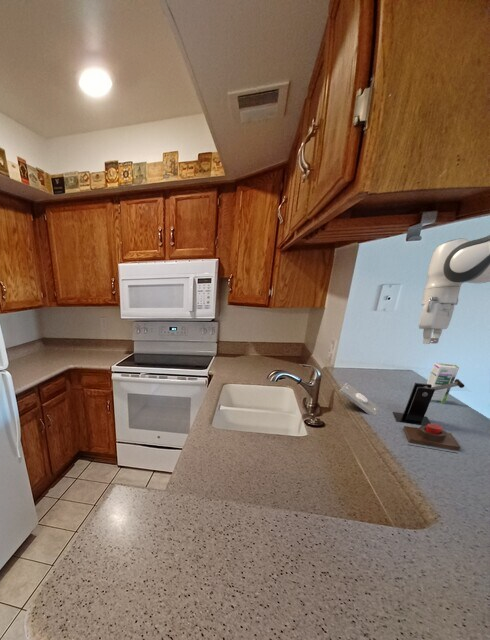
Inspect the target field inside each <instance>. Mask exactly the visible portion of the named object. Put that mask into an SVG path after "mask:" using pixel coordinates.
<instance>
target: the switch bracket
mask: <svg viewBox="0 0 490 640" xmlns="http://www.w3.org/2000/svg"><path fill="white" fill-rule="evenodd" d="M423 386H427V387H428V388H425V387H423ZM431 387H432V385H431V384H427V383H423V382H422V383H421V382H414V385H413V387H412V389H411V393H410V395H409V397H408V400H407V403H406V405H405V408H404V411H403V412H396V411H392V415H393V417H394V420H395V422H396V423H403V424H410V425H415V426H416V425H417V426H426V425H428V424H432V423H431V421H430V420H429V418H428V416H426V413H427V412H428V411H427V410H428V408H429V405H430V403H431V402H430V401H431V399H432V396H433V394H434V391H435V389H434V388H431ZM416 388H417V390H416Z"/></svg>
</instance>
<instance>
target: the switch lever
mask: <svg viewBox="0 0 490 640" xmlns="http://www.w3.org/2000/svg"><path fill="white" fill-rule="evenodd" d="M423 387H425V388H428V387H427V386H423ZM450 387H451V388H454V387H455V388H456V387H459V388H460V389H463V388H464V387H465V384H464V383H463V382H462V381H461V380H460V379H458V378H455V379H454V382H453V383H449V384H445V385H440V386H436V387H431V388H434V389H435V391H436V390H441V389H446V388H450ZM416 390H417V388H416Z"/></svg>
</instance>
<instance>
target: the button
mask: <svg viewBox="0 0 490 640" xmlns="http://www.w3.org/2000/svg"><path fill="white" fill-rule="evenodd" d="M425 430H426V431H428V432H430V433H434V434H440V433H441V431H442V430H443V427H442V426H441V425H440V424H436V423H431V424H428V425H427V427H426V429H425Z"/></svg>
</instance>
